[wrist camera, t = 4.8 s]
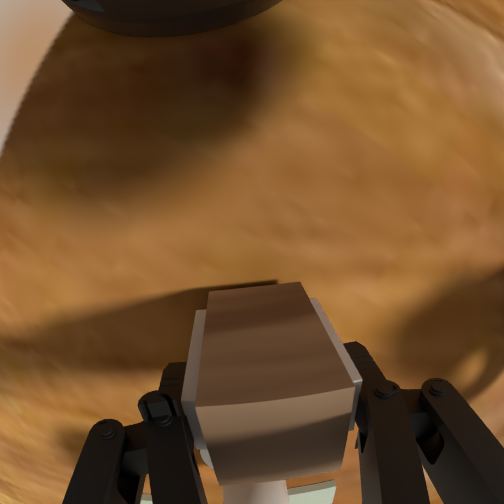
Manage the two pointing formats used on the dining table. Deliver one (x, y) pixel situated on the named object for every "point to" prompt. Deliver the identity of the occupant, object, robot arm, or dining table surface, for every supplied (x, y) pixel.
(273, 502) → the knob
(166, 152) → the dining table surface
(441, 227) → the dining table surface
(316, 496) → the notched board
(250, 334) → the block
